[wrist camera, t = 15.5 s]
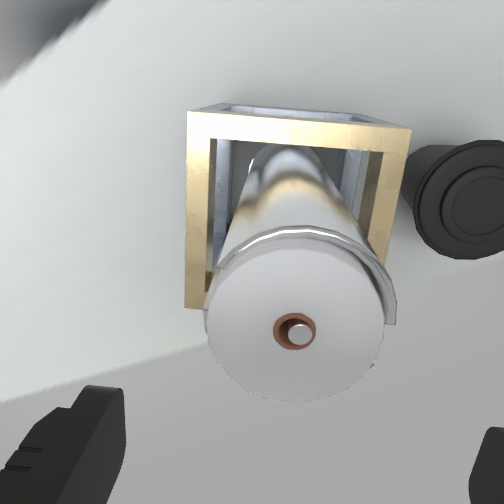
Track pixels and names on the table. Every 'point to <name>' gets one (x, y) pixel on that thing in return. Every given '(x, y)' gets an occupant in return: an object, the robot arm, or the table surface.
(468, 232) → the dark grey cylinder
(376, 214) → the collar stand
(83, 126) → the table surface
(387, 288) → the silver metal cylinder
